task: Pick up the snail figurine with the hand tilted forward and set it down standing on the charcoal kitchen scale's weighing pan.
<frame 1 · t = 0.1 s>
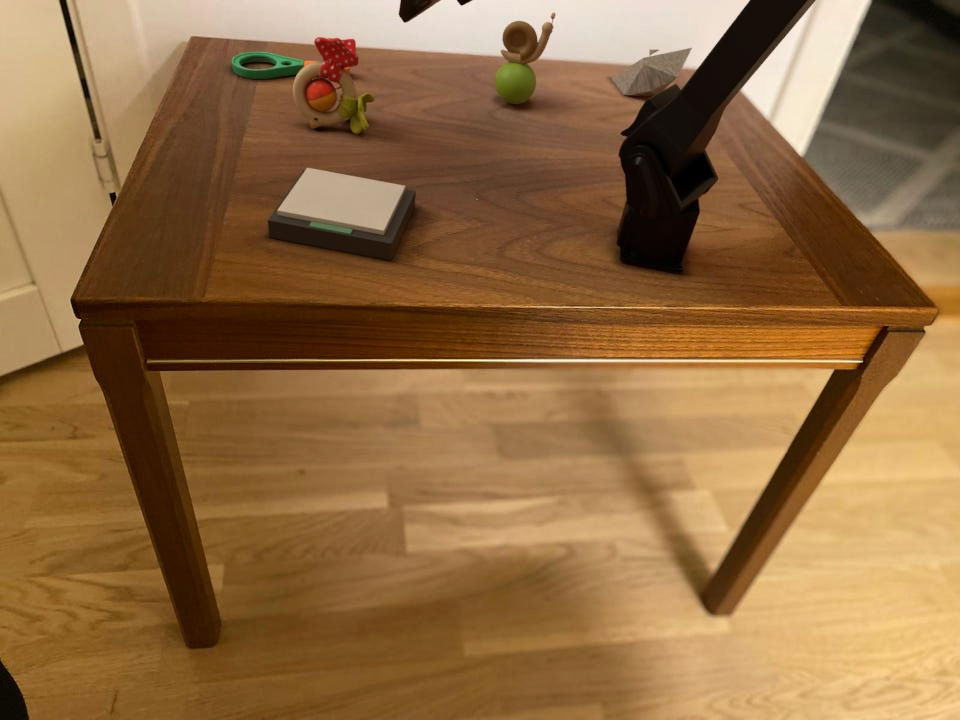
hand: (431, 10, 79), 15 cm above the table, tool tilted 35°, fingers open, 9 cm apart
magnifying glass: (292, 73, 99), on the table
scale: (345, 221, 75), on the table
paper boat: (648, 92, 108), on the table
bird rattle: (335, 129, 89), on the table
snail figurine: (516, 104, 100), on the table
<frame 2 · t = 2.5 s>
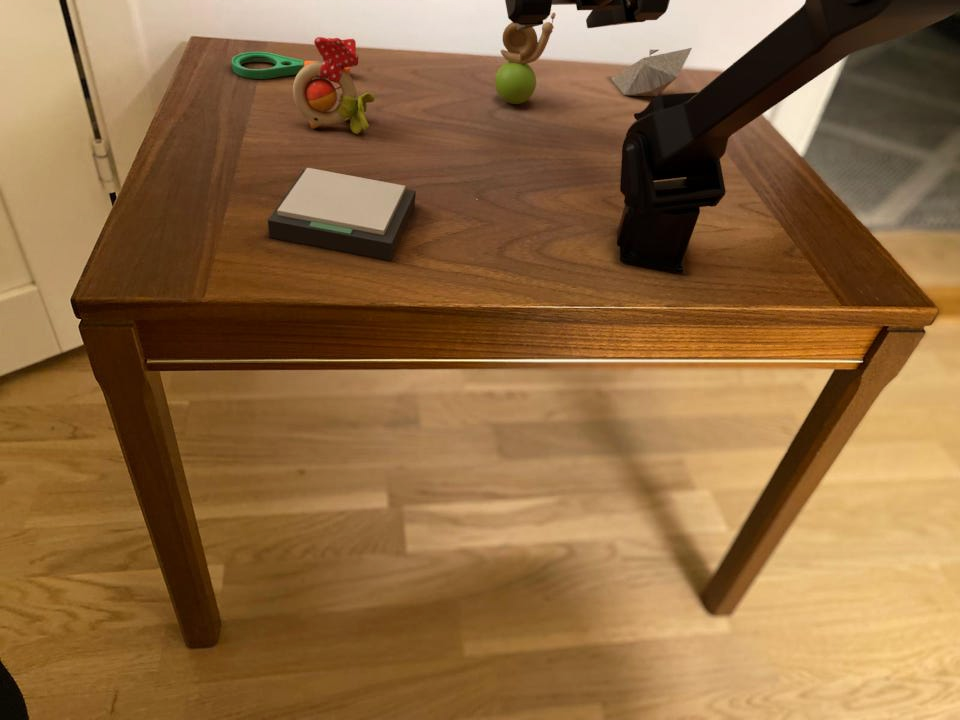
hand: (553, 24, 87), 12 cm above the table, tool tilted 45°, fingers open, 9 cm apart
nothing on the table moved.
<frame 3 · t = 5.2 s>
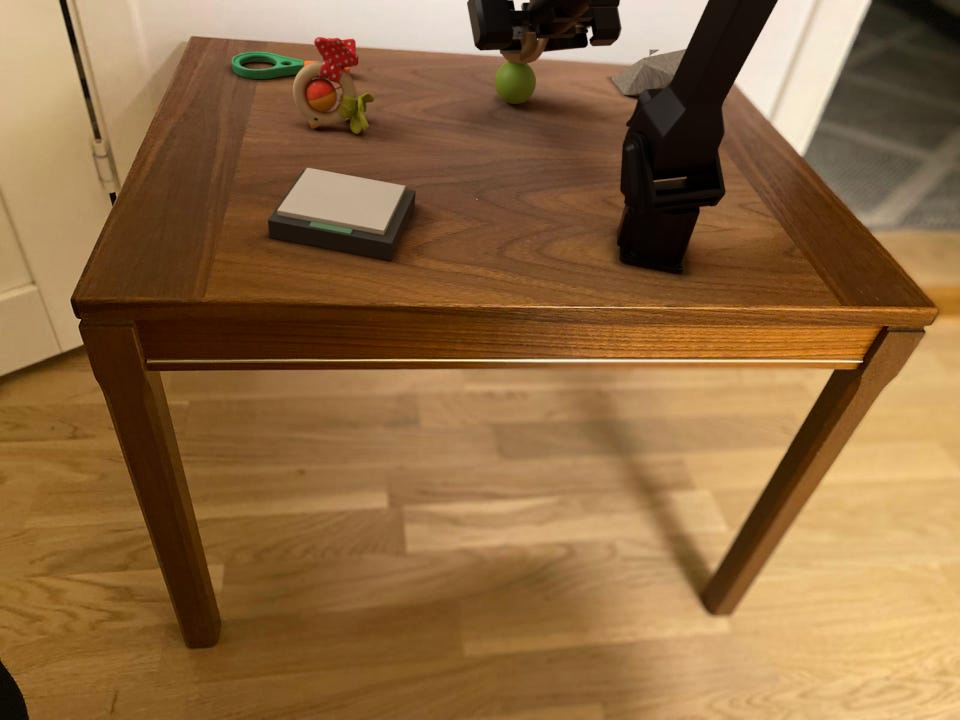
hand: (519, 49, 96), 7 cm above the table, tool tilted 45°, fingers closed on snail figurine, 5 cm apart
snail figurine: (515, 104, 100), on the table, touching gripper
everything else where it was.
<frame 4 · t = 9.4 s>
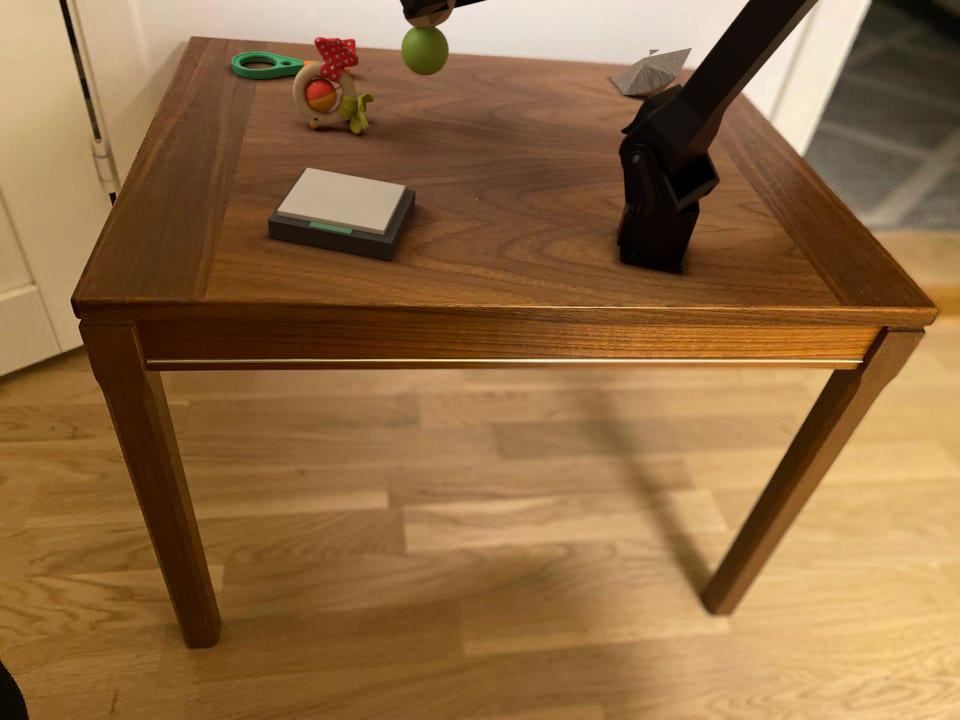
hand: (422, 11, 83), 13 cm above the table, tool tilted 45°, fingers closed on snail figurine, 5 cm apart
snail figurine: (427, 75, 87), point 7 cm above the table, touching gripper
everything else where it was.
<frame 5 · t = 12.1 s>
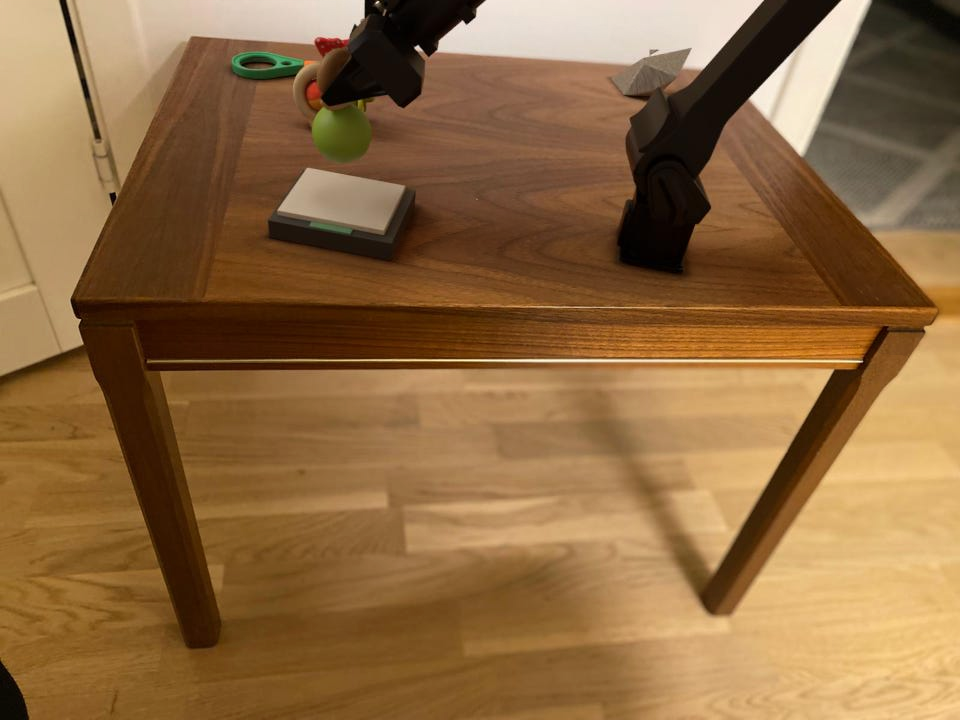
hand: (329, 89, 66), 13 cm above the table, tool tilted 45°, fingers closed on snail figurine, 5 cm apart
snail figurine: (346, 159, 71), point 7 cm above the table, touching gripper
everything else where it was.
when the fingers open (9 cm above the table, at t = 14.1 s): snail figurine stays where it is, resting on scale.
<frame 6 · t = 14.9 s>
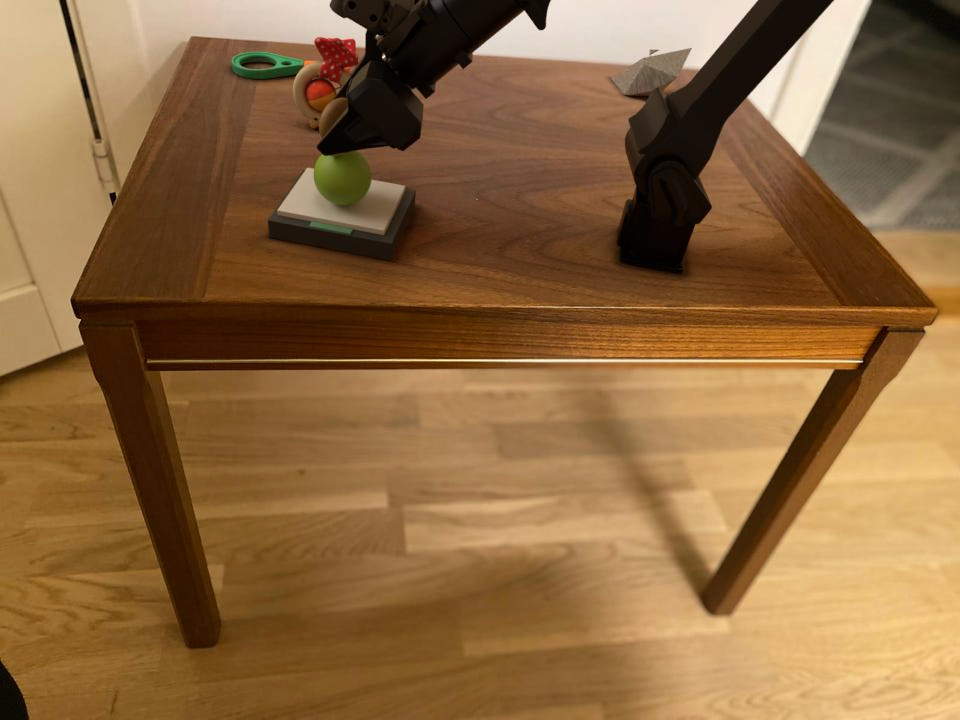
hand: (328, 127, 68), 10 cm above the table, tool tilted 45°, fingers open, 9 cm apart
snail figurine: (346, 200, 73), point 2 cm above the table, touching scale
everything else where it was.
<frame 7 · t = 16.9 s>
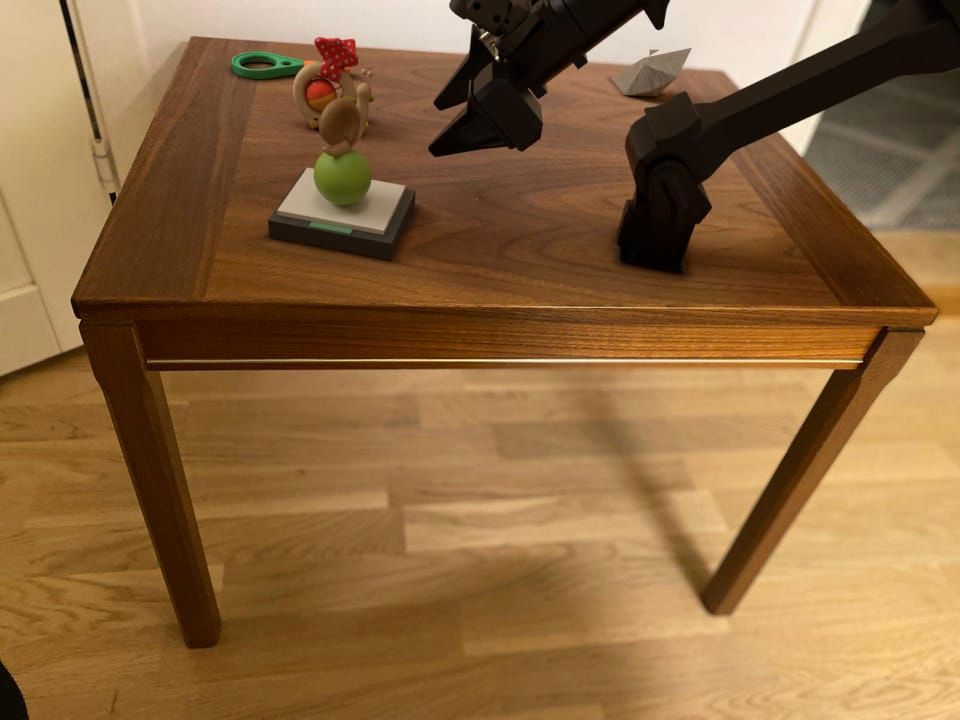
hand: (433, 128, 68), 11 cm above the table, tool tilted 45°, fingers open, 9 cm apart
nothing on the table moved.
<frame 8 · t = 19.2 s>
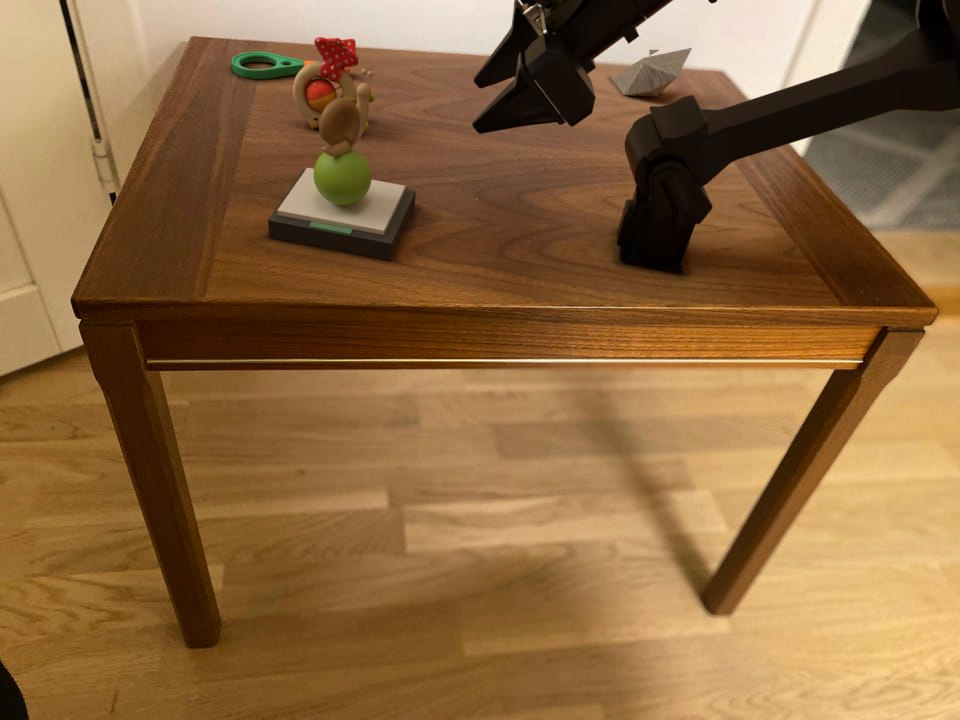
hand: (475, 105, 66), 14 cm above the table, tool tilted 45°, fingers open, 9 cm apart
nothing on the table moved.
at the end: snail figurine inside the target area on the scale (0.2 cm from its centre), point 2.4 cm above the scale's base; snail figurine tilted 0° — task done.
